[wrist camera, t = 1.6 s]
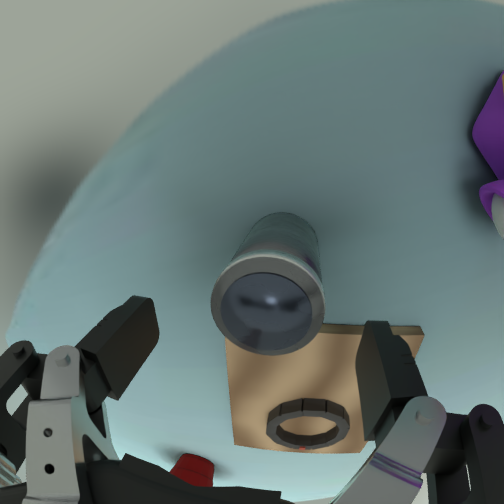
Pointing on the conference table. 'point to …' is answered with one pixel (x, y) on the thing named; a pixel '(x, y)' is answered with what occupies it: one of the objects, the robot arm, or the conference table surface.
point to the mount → (303, 393)
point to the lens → (272, 288)
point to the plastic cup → (194, 470)
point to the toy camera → (493, 152)
